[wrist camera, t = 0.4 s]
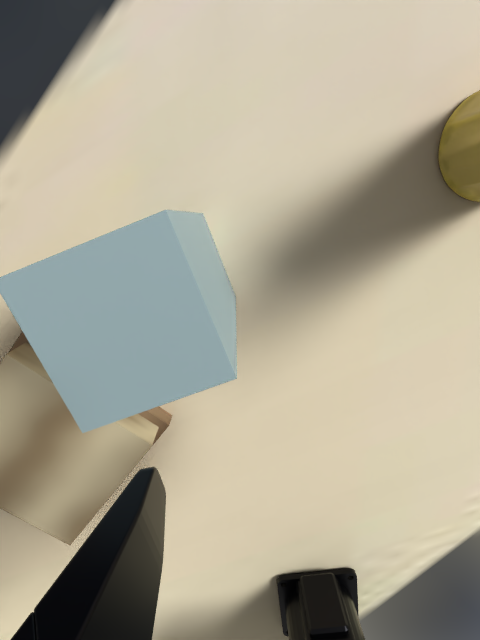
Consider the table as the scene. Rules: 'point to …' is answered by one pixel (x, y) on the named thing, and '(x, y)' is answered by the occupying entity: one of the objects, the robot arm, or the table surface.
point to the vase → (462, 149)
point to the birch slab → (58, 451)
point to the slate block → (130, 317)
